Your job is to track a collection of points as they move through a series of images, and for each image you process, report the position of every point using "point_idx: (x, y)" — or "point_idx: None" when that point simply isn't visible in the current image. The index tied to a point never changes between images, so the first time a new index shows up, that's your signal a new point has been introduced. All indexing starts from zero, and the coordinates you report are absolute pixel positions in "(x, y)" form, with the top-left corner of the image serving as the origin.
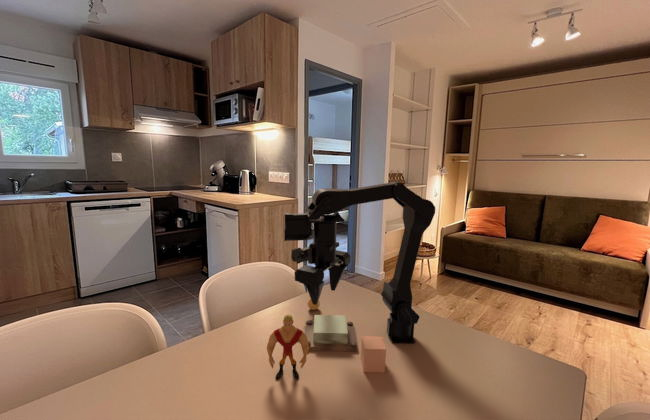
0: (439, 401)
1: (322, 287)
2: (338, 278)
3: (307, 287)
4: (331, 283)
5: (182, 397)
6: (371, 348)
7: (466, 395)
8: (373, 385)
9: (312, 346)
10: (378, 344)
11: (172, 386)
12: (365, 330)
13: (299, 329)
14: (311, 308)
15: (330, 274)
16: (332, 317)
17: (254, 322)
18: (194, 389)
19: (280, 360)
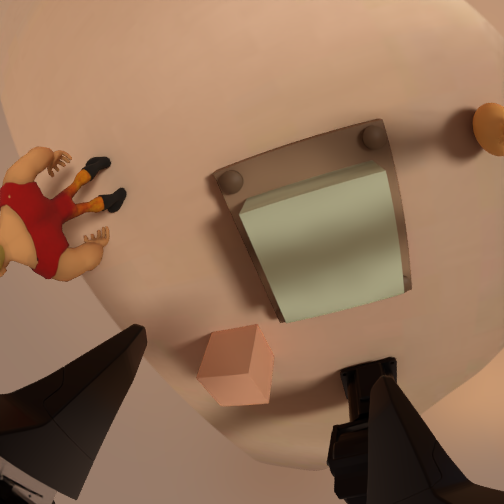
0: (209, 406)
1: (89, 463)
2: (369, 482)
3: (26, 395)
4: (390, 417)
5: (11, 53)
6: (206, 388)
7: (238, 425)
8: (186, 347)
9: (227, 203)
10: (231, 397)
11: (21, 17)
12: (387, 317)
13: (44, 270)
14: (473, 122)
15: (415, 472)
16: (382, 253)
17: None
18: (23, 49)
19: (77, 174)
